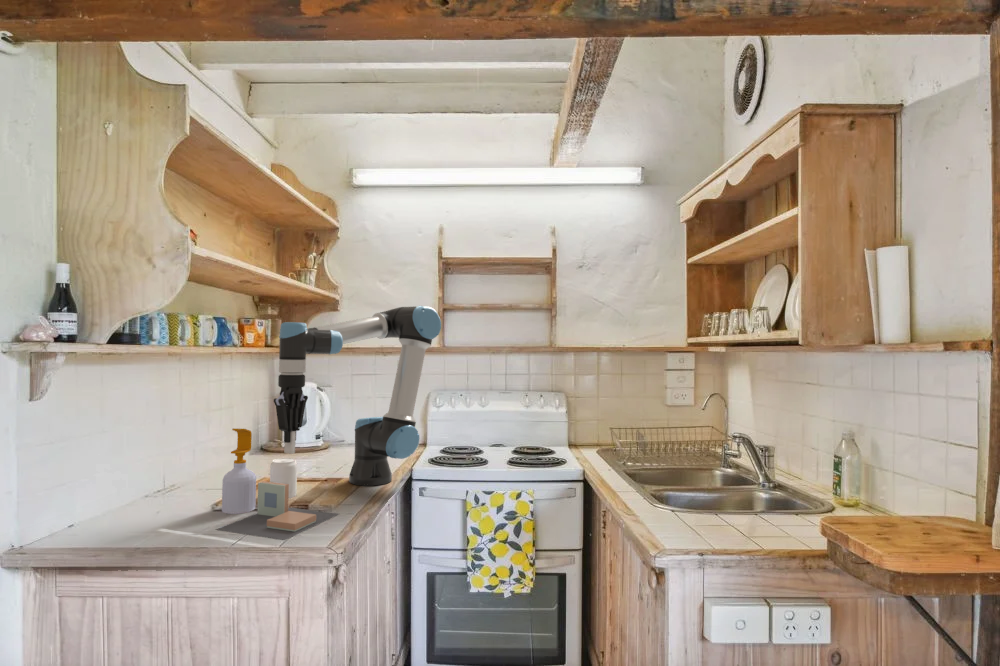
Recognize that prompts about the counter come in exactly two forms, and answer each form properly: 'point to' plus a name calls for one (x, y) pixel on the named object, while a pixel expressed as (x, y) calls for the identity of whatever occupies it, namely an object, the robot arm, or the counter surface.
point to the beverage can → (285, 473)
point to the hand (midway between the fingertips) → (289, 452)
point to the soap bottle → (239, 479)
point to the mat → (258, 527)
